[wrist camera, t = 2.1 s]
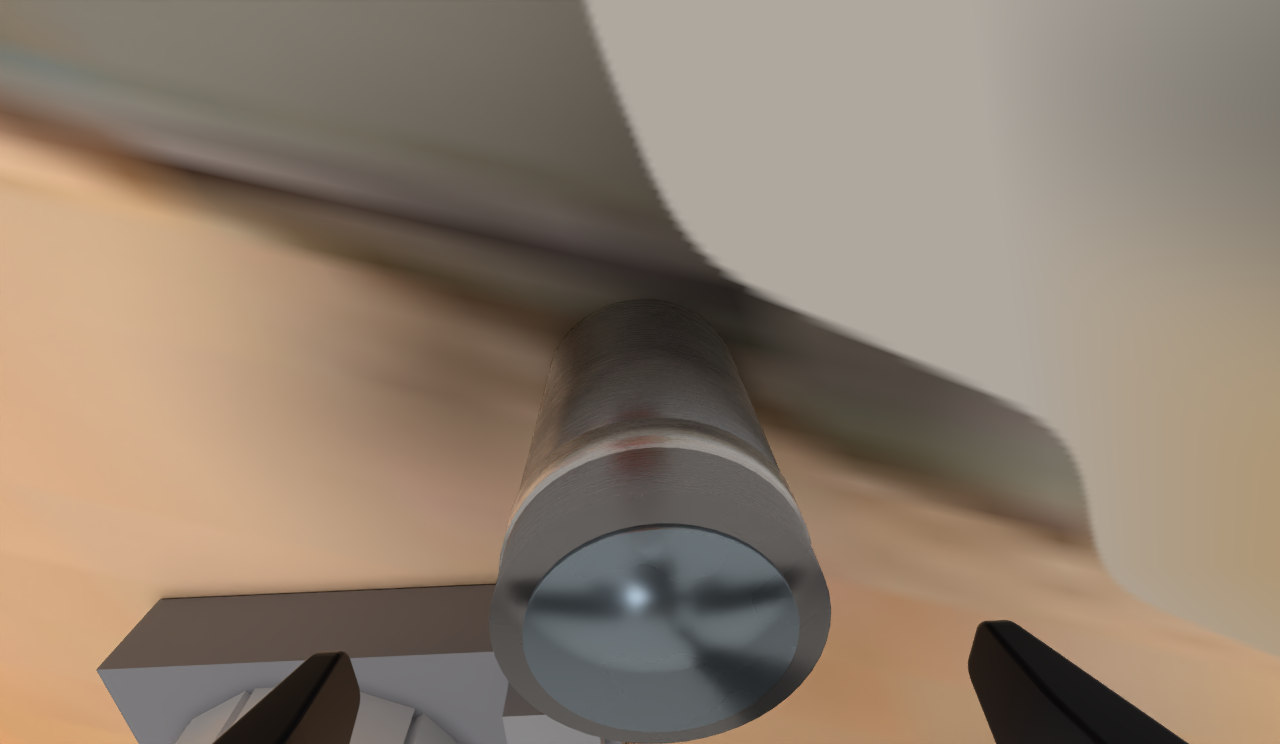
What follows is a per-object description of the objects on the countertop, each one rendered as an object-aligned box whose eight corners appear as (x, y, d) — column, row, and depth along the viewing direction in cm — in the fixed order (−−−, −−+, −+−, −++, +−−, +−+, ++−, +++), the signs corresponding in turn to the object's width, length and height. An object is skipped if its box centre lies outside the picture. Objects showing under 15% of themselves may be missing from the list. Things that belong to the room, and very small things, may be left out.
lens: (742, 294, 15) (858, 487, 8) (735, 466, 17) (820, 747, 10) (536, 301, 15) (457, 504, 8) (555, 474, 17) (506, 761, 10)
